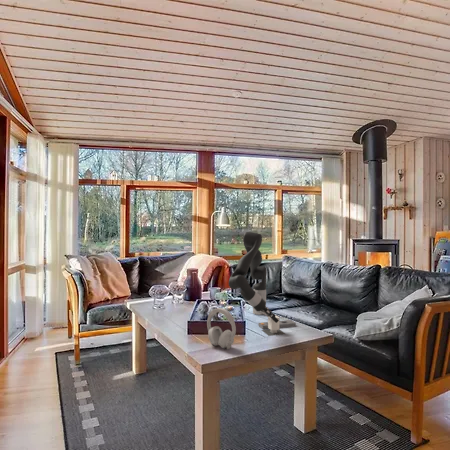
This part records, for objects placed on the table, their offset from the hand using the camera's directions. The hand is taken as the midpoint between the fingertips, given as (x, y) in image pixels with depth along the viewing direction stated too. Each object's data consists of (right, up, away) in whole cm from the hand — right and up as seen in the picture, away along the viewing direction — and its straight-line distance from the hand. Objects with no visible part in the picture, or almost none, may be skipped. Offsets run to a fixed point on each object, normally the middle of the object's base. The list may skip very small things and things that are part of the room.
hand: (274, 319), depth 213 cm
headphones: (-31, -8, -23) cm, 40 cm away
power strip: (+3, -8, +12) cm, 15 cm away
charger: (0, -7, 0) cm, 7 cm away
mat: (0, -8, 0) cm, 8 cm away
